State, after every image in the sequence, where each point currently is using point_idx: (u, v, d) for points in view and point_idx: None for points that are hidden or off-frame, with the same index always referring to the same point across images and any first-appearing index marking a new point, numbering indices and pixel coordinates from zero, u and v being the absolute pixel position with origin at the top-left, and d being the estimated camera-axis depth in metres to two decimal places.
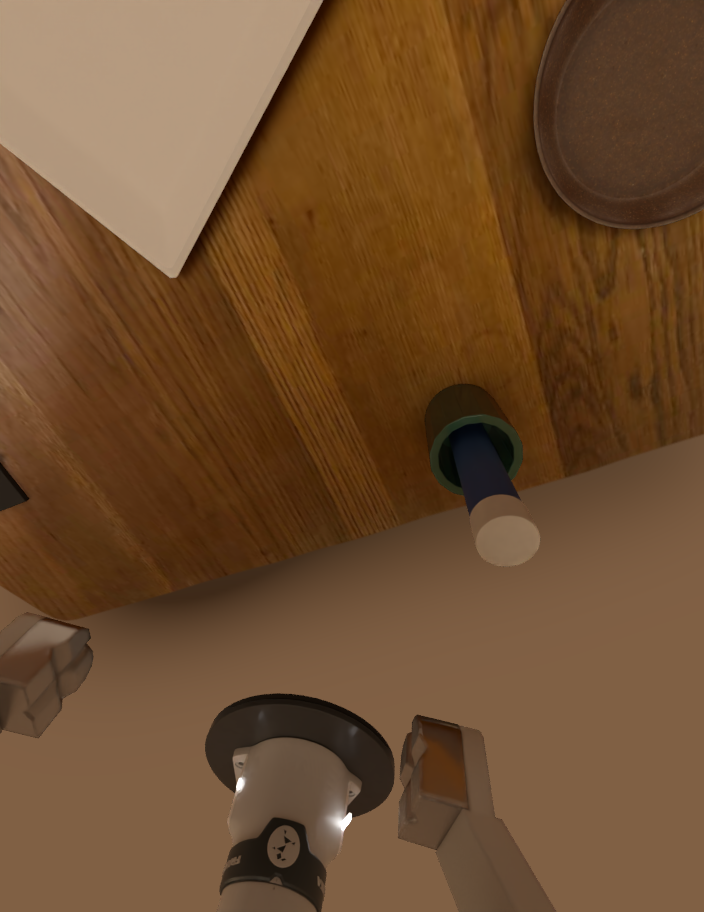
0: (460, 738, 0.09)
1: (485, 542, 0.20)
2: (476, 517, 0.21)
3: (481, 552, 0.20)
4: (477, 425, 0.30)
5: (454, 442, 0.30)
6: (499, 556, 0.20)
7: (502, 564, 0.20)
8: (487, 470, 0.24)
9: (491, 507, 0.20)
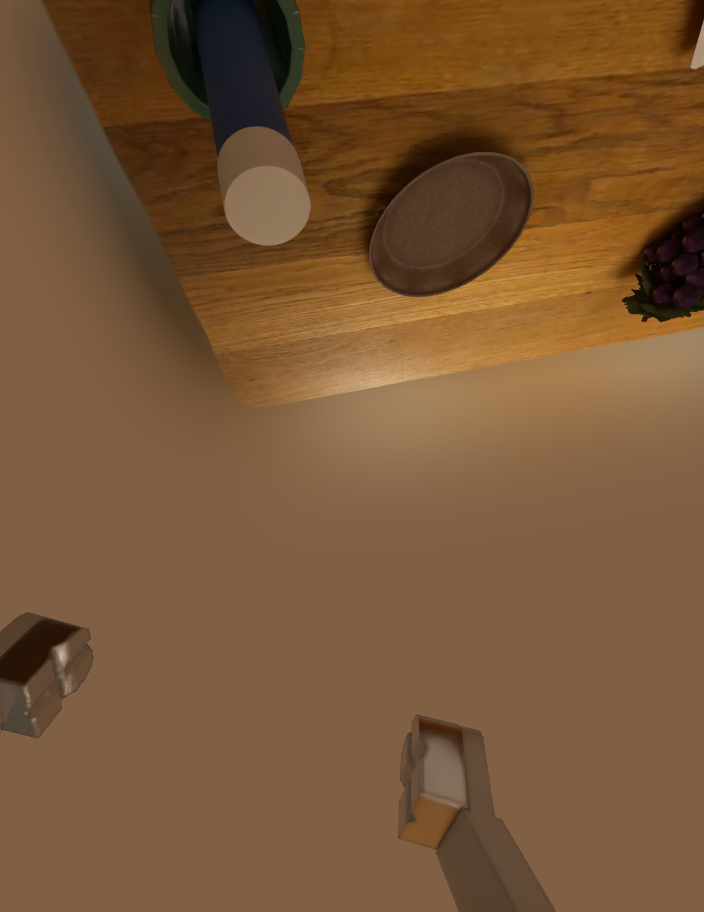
0: (460, 738, 0.09)
1: (273, 181, 0.14)
2: (291, 156, 0.14)
3: (256, 173, 0.13)
4: None
5: None
6: (244, 196, 0.14)
7: (229, 199, 0.14)
8: None
9: None
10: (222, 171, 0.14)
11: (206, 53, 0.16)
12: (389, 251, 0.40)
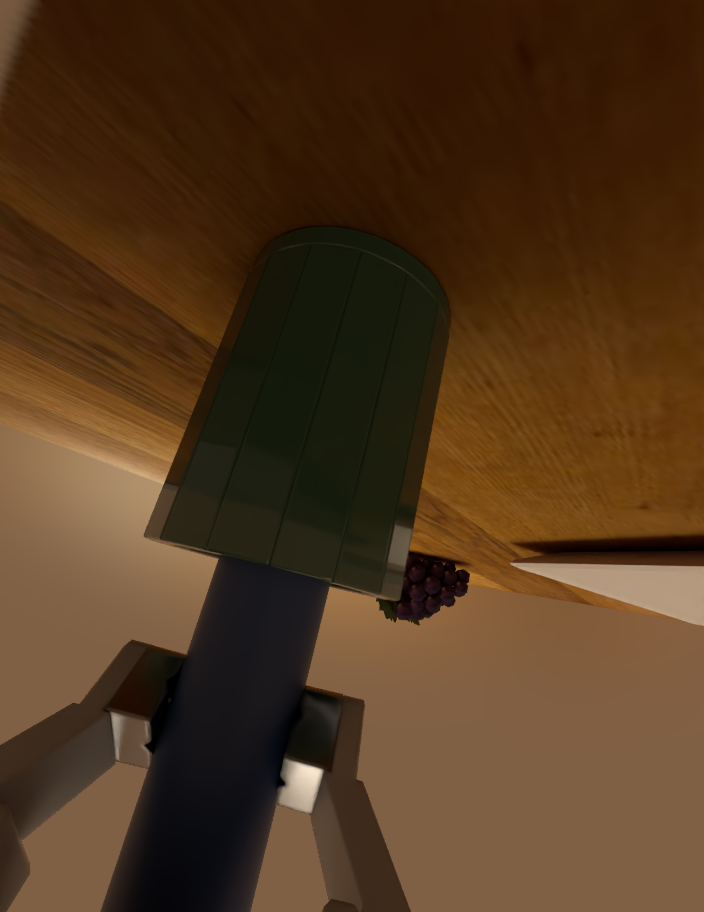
0: (340, 706, 0.09)
1: None
2: None
3: None
4: None
5: None
6: None
7: None
8: None
9: None
10: None
11: (234, 670, 0.08)
12: None
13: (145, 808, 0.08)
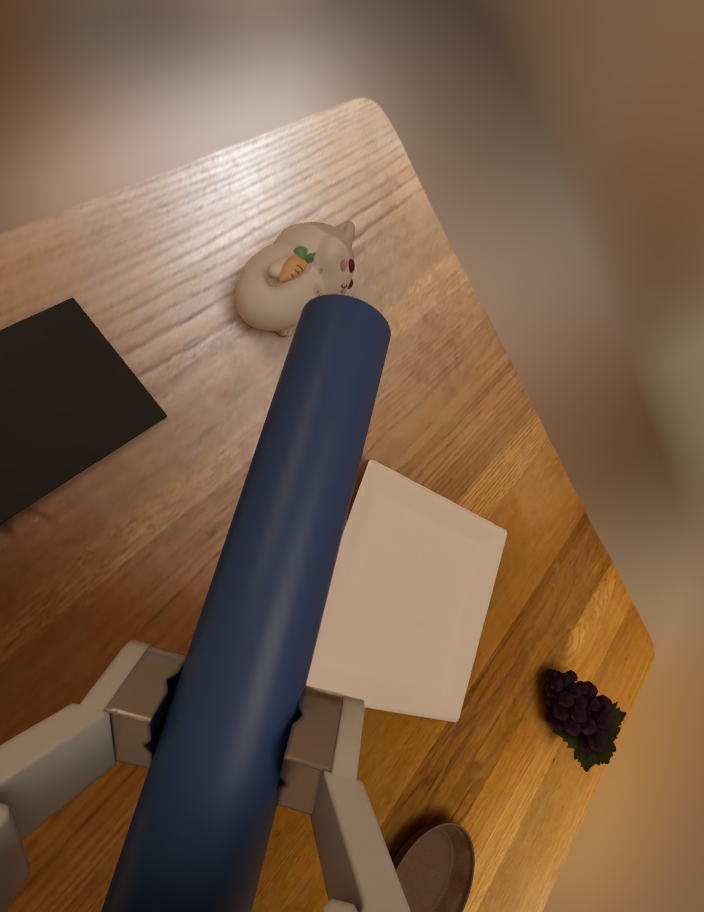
0: (340, 706, 0.09)
1: None
2: None
3: None
4: None
5: (344, 524, 0.11)
6: None
7: None
8: None
9: None
10: None
11: (236, 668, 0.08)
12: None
13: (147, 805, 0.08)
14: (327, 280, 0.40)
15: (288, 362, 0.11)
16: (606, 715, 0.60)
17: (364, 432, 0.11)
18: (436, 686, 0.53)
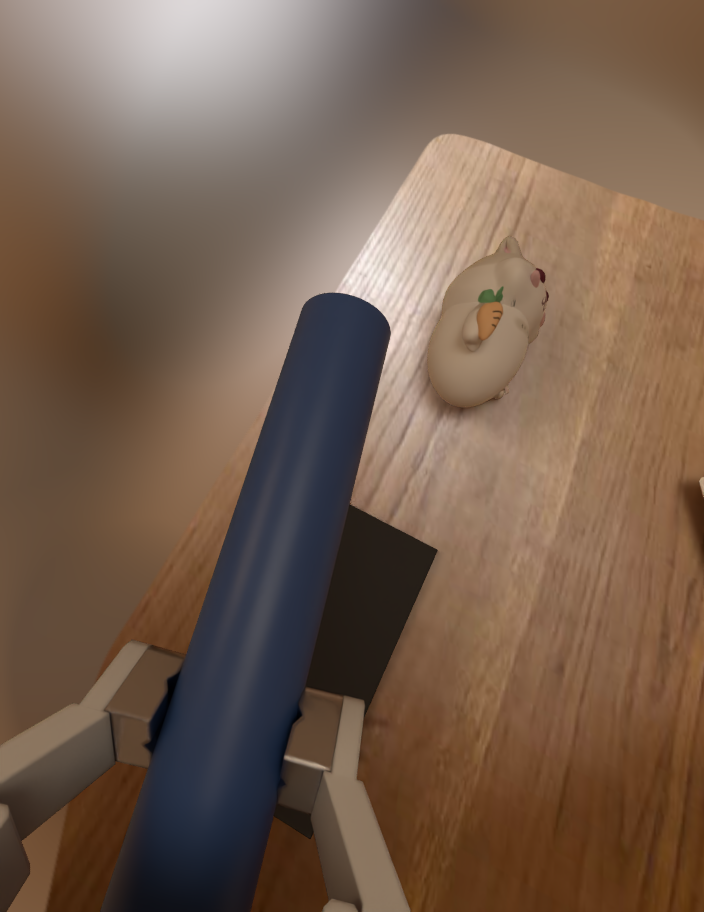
0: (340, 706, 0.09)
1: None
2: None
3: None
4: None
5: (344, 523, 0.11)
6: None
7: None
8: None
9: None
10: None
11: (235, 666, 0.08)
12: None
13: (146, 804, 0.08)
14: (525, 307, 0.32)
15: (288, 360, 0.11)
16: None
17: (364, 431, 0.11)
18: None
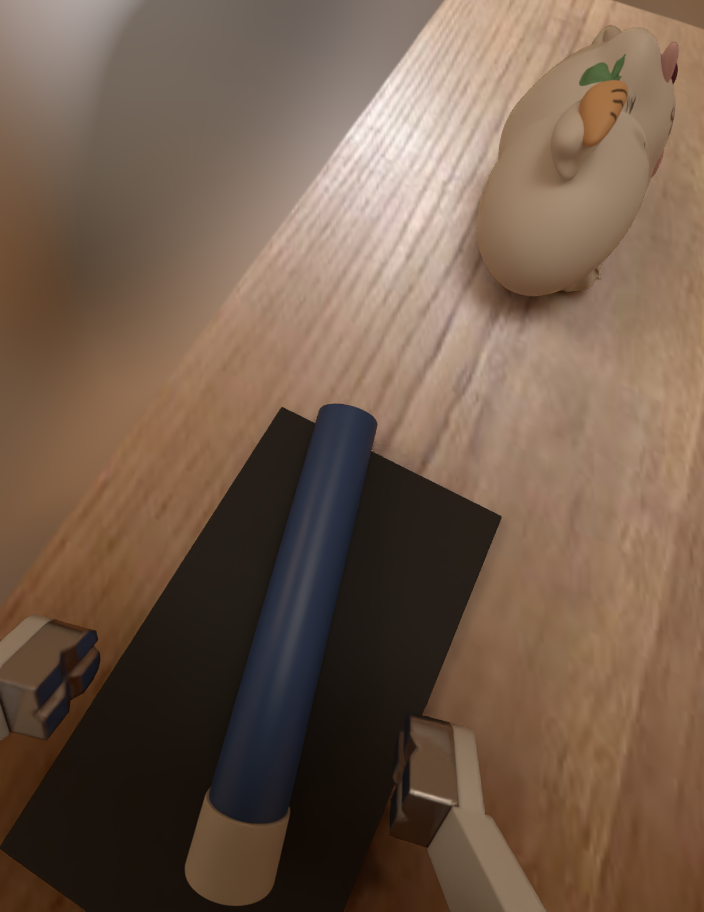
0: (451, 736, 0.09)
1: None
2: None
3: None
4: None
5: None
6: None
7: (214, 899, 0.12)
8: None
9: None
10: (229, 861, 0.13)
11: (294, 637, 0.15)
12: None
13: (245, 712, 0.14)
14: (647, 117, 0.19)
15: (315, 447, 0.18)
16: None
17: (360, 494, 0.18)
18: None
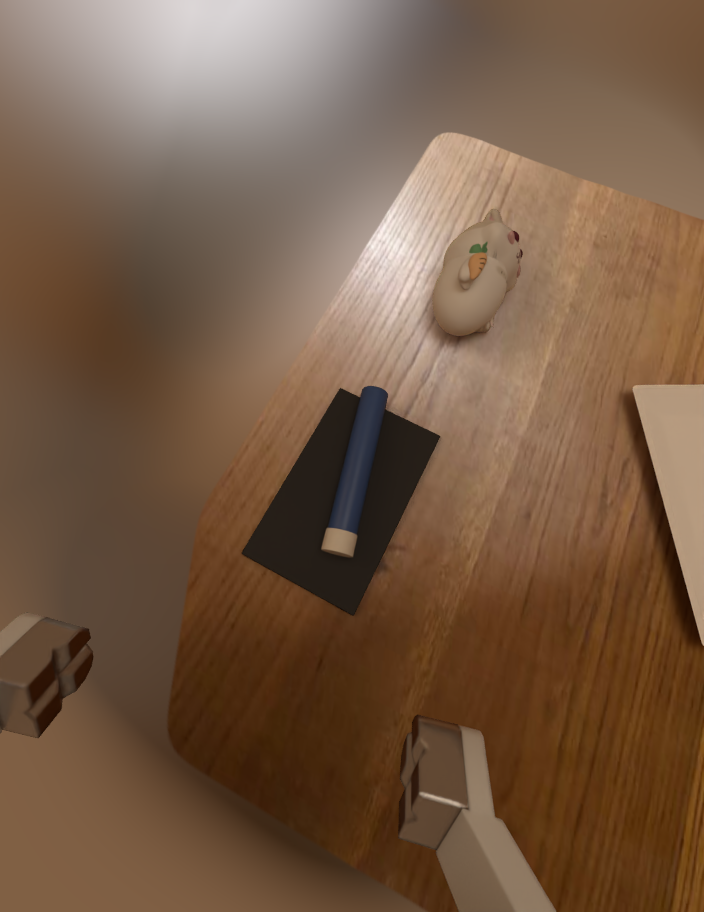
0: (460, 738, 0.09)
1: (347, 556, 0.38)
2: None
3: (349, 555, 0.37)
4: None
5: None
6: (340, 553, 0.37)
7: (338, 552, 0.36)
8: None
9: None
10: (343, 541, 0.37)
11: (361, 474, 0.39)
12: None
13: (344, 498, 0.38)
14: (504, 259, 0.43)
15: (365, 404, 0.42)
16: None
17: None
18: None
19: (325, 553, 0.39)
